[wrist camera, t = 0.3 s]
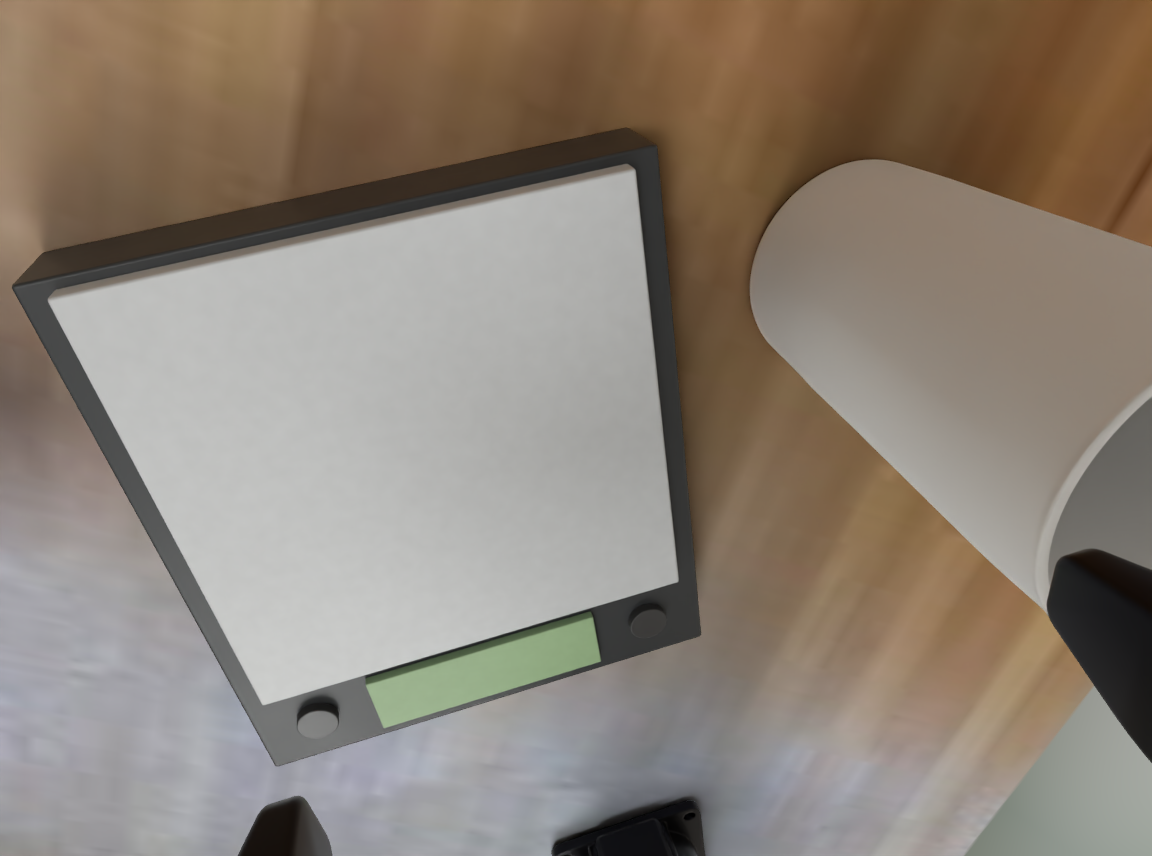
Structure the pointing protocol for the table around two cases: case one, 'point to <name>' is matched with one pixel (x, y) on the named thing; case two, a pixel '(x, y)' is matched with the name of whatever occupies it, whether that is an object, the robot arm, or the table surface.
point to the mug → (974, 355)
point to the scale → (398, 431)
